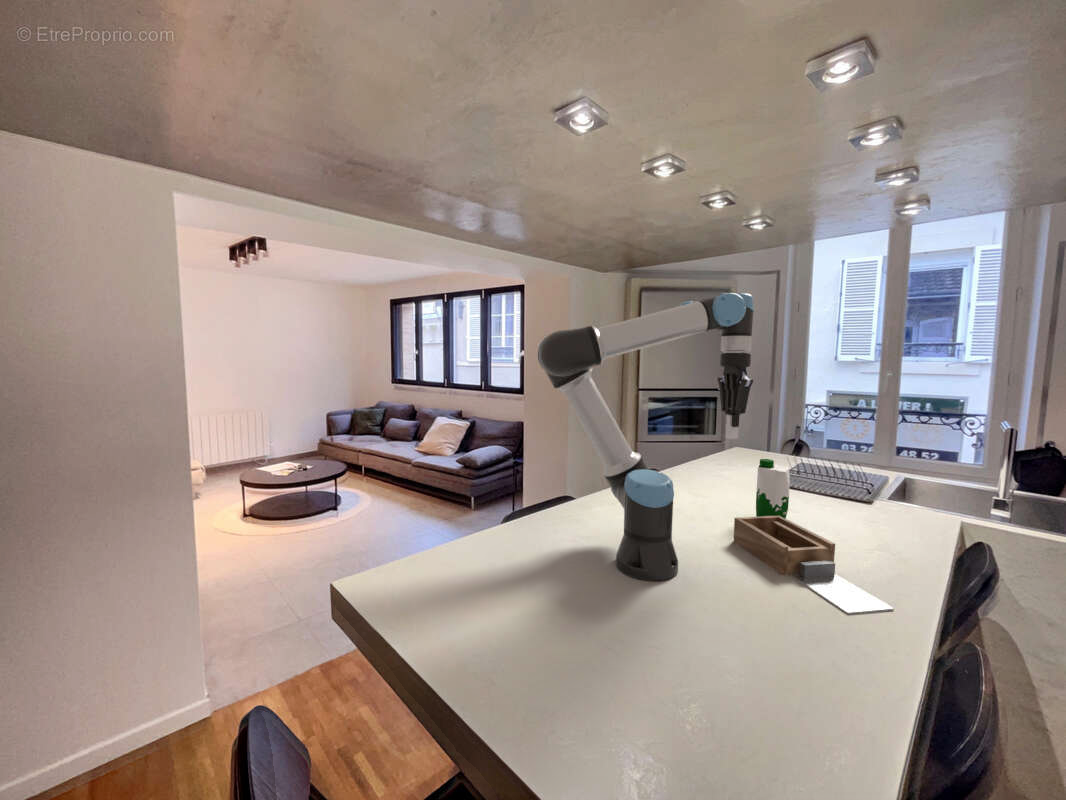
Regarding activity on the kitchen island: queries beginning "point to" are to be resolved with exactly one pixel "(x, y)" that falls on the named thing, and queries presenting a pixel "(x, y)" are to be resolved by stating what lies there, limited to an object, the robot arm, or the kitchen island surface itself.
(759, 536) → the box
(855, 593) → the cover plate
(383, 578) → the kitchen island surface
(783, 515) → the milk carton
